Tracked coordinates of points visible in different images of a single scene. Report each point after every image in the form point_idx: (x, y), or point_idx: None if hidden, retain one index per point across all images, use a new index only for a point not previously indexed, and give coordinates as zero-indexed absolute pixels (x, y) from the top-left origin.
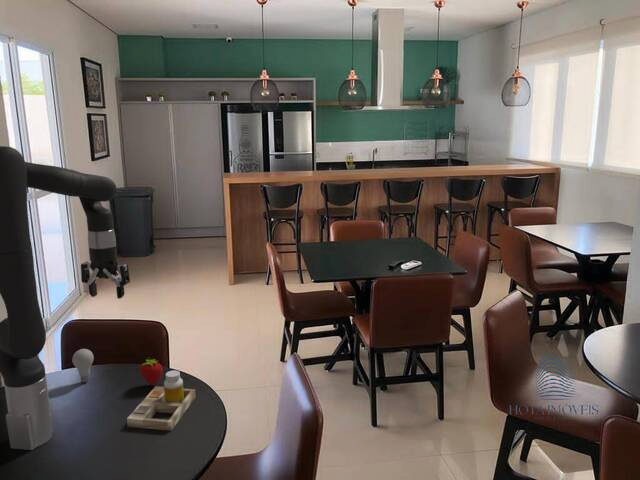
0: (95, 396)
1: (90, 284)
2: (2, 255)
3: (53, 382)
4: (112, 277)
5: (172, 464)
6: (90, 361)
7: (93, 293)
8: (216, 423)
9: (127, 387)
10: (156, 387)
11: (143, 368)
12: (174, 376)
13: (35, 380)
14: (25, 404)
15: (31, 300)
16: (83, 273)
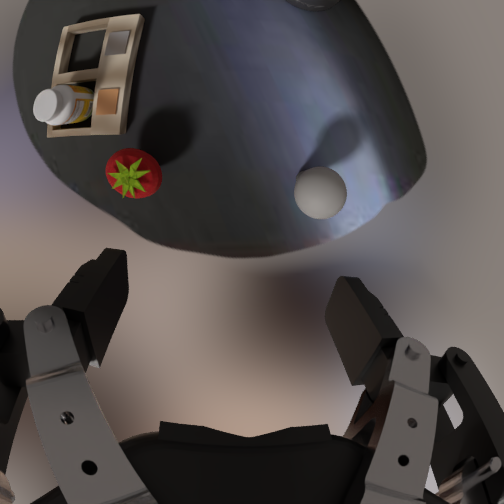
0: (255, 114)
1: (398, 343)
2: None
3: (365, 178)
4: (47, 410)
5: None
6: (297, 181)
7: (346, 295)
8: (18, 71)
9: (198, 153)
10: (116, 129)
11: (142, 158)
12: (39, 94)
13: None
14: None
15: None
16: (490, 416)
